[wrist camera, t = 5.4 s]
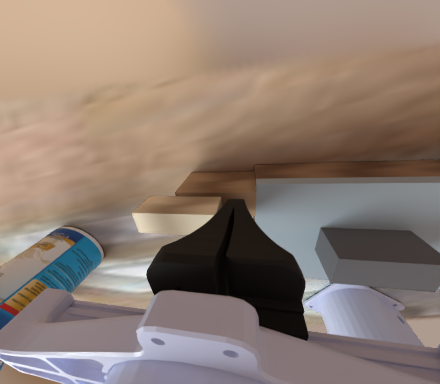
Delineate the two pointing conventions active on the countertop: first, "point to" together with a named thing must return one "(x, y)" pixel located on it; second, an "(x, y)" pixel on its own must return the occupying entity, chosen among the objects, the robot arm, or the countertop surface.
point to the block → (175, 214)
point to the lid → (357, 228)
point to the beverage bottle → (47, 269)
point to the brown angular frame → (246, 181)
